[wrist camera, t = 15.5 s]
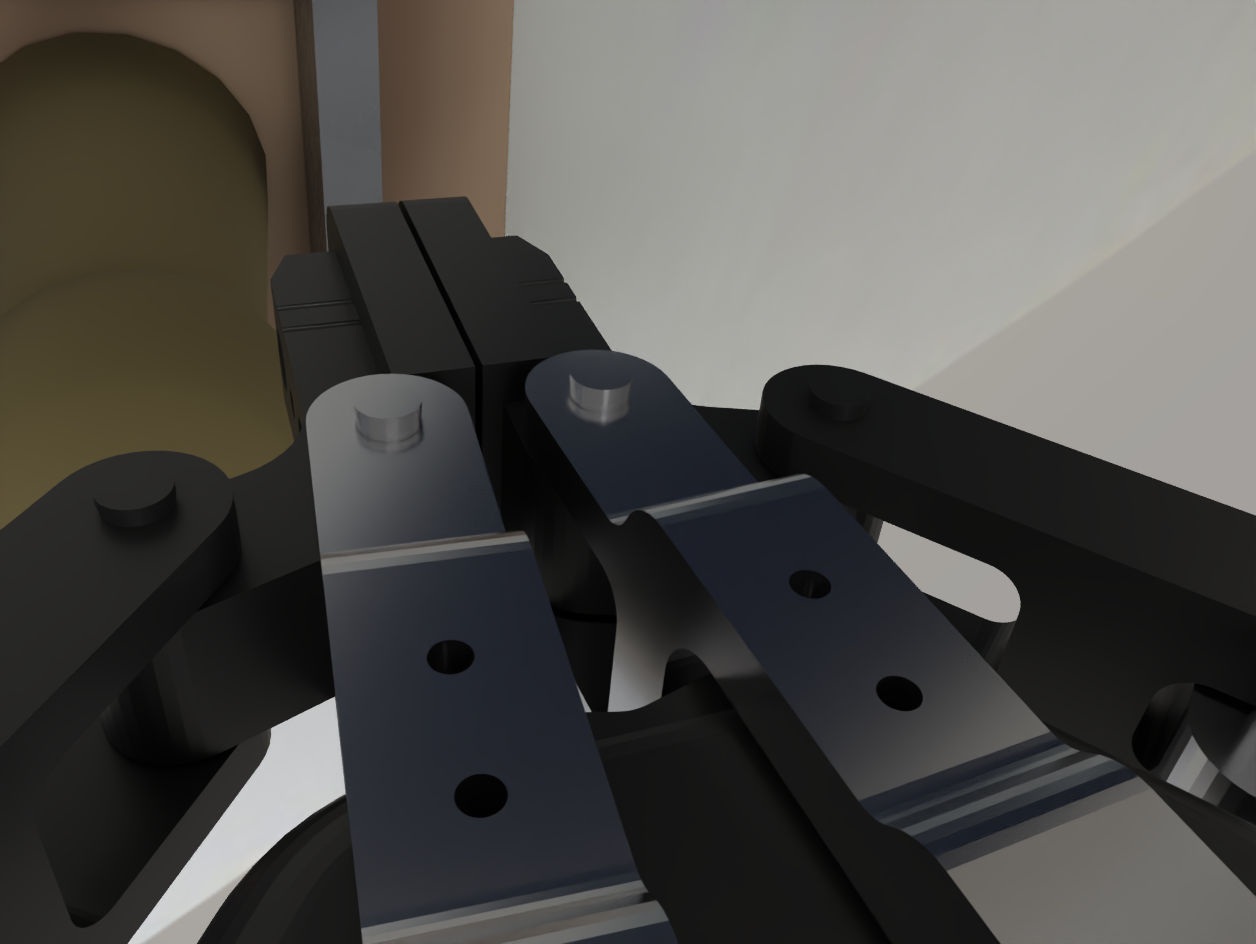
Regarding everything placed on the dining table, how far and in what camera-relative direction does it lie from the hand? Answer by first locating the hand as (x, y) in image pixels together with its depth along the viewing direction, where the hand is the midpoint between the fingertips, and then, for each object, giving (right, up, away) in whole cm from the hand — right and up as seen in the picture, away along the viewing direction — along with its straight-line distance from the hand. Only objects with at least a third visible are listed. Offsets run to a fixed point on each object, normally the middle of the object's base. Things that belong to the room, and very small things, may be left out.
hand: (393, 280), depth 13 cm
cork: (-8, +4, +11) cm, 15 cm away
